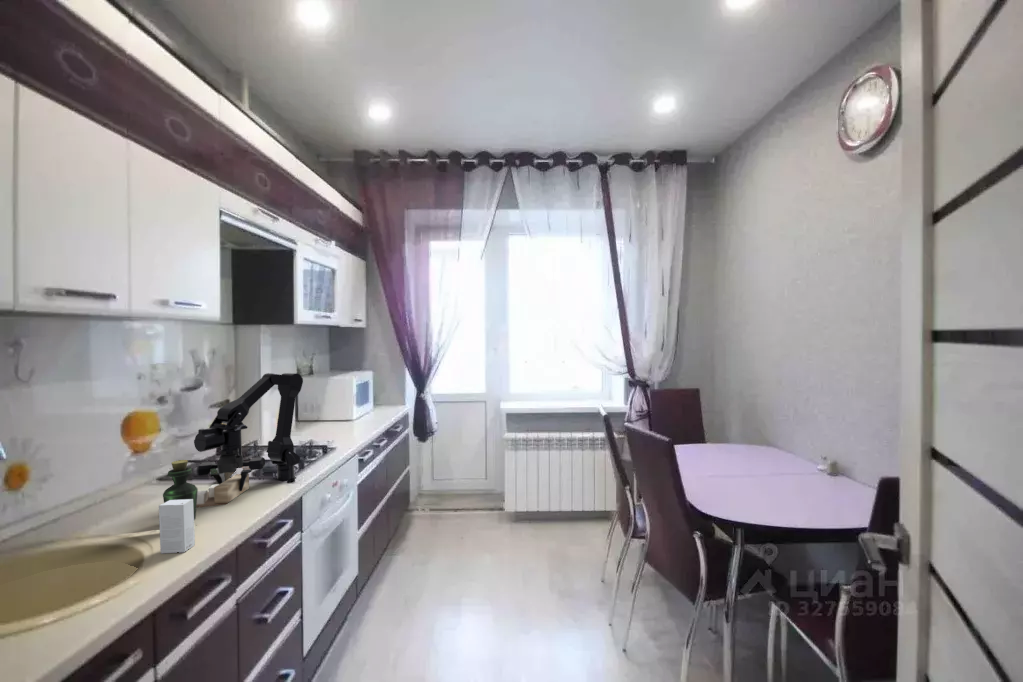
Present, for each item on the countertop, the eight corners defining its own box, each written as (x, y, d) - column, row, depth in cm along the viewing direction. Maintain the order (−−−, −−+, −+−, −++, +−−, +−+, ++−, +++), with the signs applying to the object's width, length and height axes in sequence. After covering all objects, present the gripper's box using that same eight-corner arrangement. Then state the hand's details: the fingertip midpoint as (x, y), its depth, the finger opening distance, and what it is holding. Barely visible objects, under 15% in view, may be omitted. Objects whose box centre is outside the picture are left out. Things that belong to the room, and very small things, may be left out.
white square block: (193, 501, 150) (192, 491, 150) (207, 499, 151) (207, 490, 151) (189, 505, 146) (188, 495, 146) (204, 503, 147) (203, 494, 147)
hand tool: (225, 474, 184) (224, 462, 184) (236, 472, 185) (236, 461, 185) (212, 489, 166) (212, 476, 166) (225, 487, 167) (225, 474, 167)
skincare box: (195, 545, 120) (194, 498, 120) (184, 553, 116) (183, 504, 116) (171, 546, 120) (169, 499, 120) (159, 553, 115) (157, 505, 115)
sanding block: (237, 488, 161) (236, 474, 161) (249, 488, 161) (248, 473, 161) (214, 503, 147) (214, 487, 147) (227, 502, 147) (227, 486, 147)
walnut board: (191, 496, 157) (191, 493, 157) (238, 491, 162) (238, 488, 162) (174, 513, 142) (174, 510, 142) (227, 507, 147) (227, 503, 147)
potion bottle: (169, 533, 128) (167, 467, 127) (159, 526, 133) (157, 462, 132) (203, 523, 134) (201, 460, 134) (192, 517, 139) (190, 456, 139)
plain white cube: (212, 493, 157) (211, 484, 157) (225, 492, 158) (225, 483, 158) (208, 497, 153) (208, 488, 153) (222, 495, 154) (222, 486, 154)
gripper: (190, 453, 143) (191, 504, 143) (259, 447, 149) (260, 496, 150) (201, 445, 154) (202, 492, 154) (264, 440, 160) (265, 485, 160)
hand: (232, 492), depth 154 cm, fingers closed on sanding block, 5 cm apart
